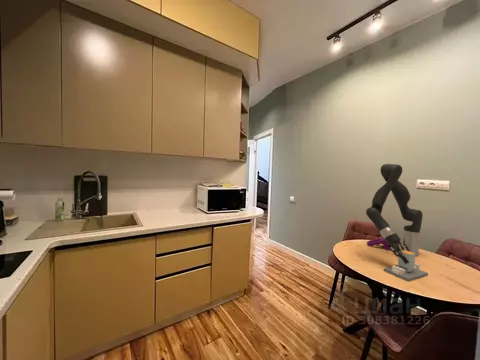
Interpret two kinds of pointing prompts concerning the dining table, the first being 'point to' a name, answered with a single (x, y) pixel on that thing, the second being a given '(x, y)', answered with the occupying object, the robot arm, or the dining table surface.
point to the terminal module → (410, 258)
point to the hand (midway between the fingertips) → (409, 262)
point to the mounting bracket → (379, 241)
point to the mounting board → (406, 272)
